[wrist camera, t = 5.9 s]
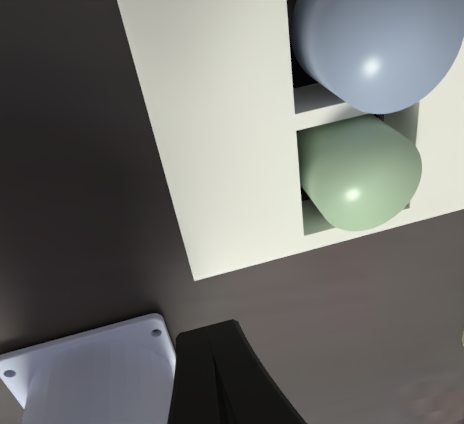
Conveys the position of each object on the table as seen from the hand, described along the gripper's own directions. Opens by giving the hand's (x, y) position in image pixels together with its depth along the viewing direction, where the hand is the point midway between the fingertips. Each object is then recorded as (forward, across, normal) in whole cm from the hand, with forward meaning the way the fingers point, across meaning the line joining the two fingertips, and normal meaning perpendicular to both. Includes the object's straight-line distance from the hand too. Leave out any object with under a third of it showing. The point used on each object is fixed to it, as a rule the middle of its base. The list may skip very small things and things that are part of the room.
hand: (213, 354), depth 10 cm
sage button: (+9, -7, 0) cm, 11 cm away
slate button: (+7, -7, -5) cm, 11 cm away
